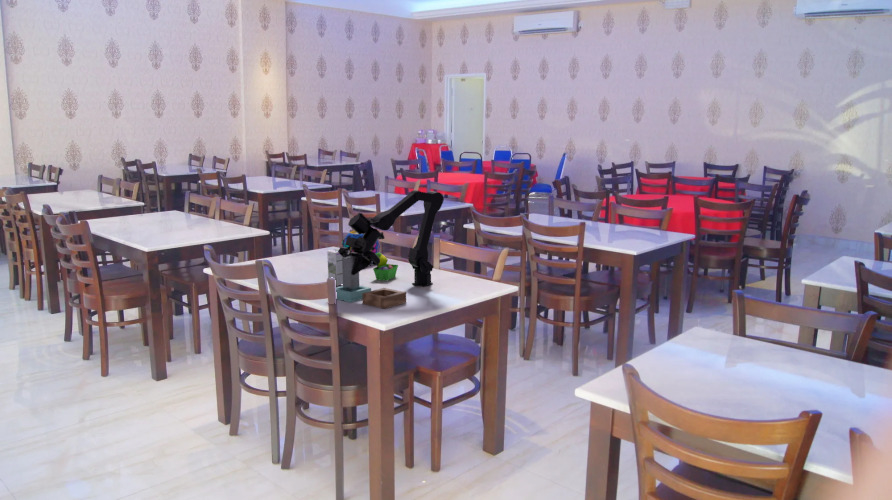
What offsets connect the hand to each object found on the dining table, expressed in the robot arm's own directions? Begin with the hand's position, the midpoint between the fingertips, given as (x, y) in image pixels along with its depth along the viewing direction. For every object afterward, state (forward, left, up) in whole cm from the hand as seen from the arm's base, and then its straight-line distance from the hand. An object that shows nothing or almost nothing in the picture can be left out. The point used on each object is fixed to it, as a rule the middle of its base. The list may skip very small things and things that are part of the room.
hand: (348, 273), depth 265 cm
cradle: (0, +1, -9) cm, 9 cm away
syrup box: (-20, +12, -10) cm, 25 cm away
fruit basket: (-13, +33, -10) cm, 37 cm away
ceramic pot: (-46, +51, -10) cm, 70 cm away
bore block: (+17, +2, -9) cm, 20 cm away
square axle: (0, +1, -7) cm, 7 cm away
